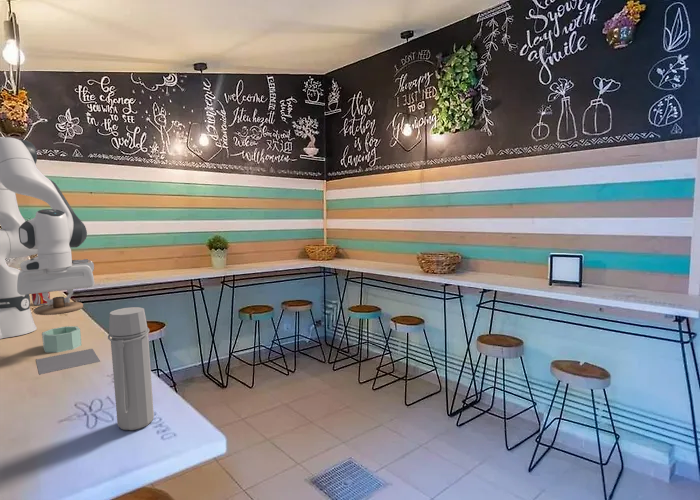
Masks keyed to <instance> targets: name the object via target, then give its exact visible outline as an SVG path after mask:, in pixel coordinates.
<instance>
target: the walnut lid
mask: <svg viewBox="0 0 700 500" xmlns="http://www.w3.org/2000/svg"><path fill="white" fill-rule="evenodd" d="M64 298H65V297H64V296H54V297H52V299H53V306H48V305H47V304H46V305H38V306H37V307H35V308H34V309H33V313H34V314H35V315H37V316H38V315H39V316H53V315H55V316H56V315H57V316H58V315H63V314H64V315H65V314H69V313H70V314H71V313H74V312H77V311H79V310H82V309H83V308H84V303H82V302H79V301H70V303H69V304H64Z"/></svg>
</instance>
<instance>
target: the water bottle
mask: <svg viewBox="0 0 700 500" xmlns="http://www.w3.org/2000/svg"><path fill="white" fill-rule="evenodd" d="M108 319H109V322H108V323H109V324H108V335H107V340H109V341H110V345H111V346H110V347H111V348H110V349H111V359H112V371H113V373H112V374H113V375H112V376H113V385H114V387H113V388H114V398H115V408H116V410H115V411H116V422H117V424H116V425H117V427H119V429H121V430H123V431H136V430H140V429H142V428H144V427H147V426H148V425H150V424H151V423H152V422H153V420H154V417H155V412H154V411H155V410H154V398H153V383H152V369H151V368H152V367H151V358H150V357H151V356H150V355H151V354H150V341H149V340H150V339H149V333H150V328H149V327H148V324H147V323H148V322H147V316H146V312H145V308H144V307H140V306H139V307H138V306H137V307H134V306H133V307H123V308H118V309H115V310H111V311H110V312H109V318H108Z"/></svg>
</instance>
